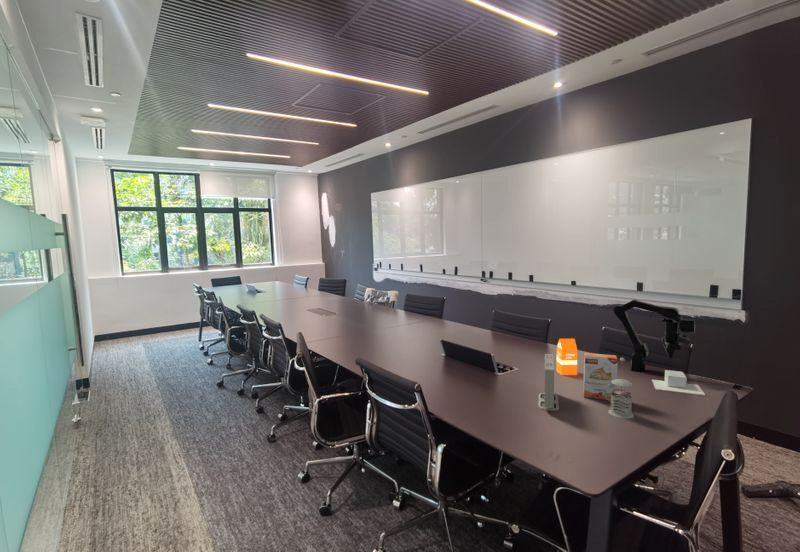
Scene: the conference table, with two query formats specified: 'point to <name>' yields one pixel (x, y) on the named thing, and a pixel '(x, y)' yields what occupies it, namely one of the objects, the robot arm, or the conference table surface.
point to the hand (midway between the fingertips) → (670, 358)
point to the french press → (619, 409)
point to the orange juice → (567, 357)
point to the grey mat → (688, 390)
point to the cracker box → (599, 375)
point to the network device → (549, 386)
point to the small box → (675, 379)
